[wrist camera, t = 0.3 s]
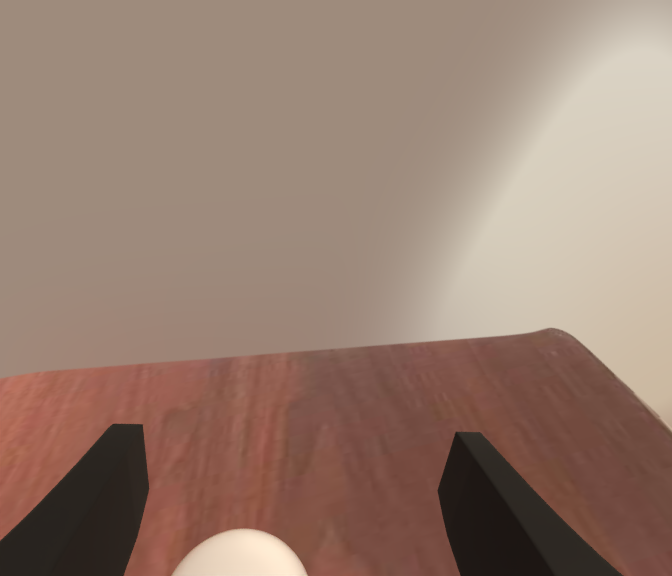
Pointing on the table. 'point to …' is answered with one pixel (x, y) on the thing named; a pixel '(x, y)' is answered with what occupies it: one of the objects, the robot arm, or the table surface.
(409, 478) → the table surface
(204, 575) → the lightbulb
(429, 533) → the table surface
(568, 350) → the table surface
